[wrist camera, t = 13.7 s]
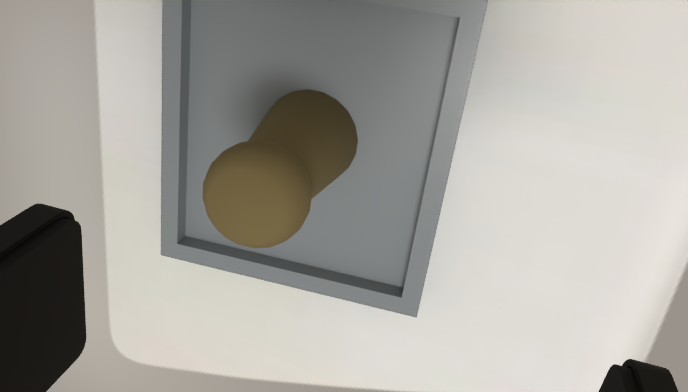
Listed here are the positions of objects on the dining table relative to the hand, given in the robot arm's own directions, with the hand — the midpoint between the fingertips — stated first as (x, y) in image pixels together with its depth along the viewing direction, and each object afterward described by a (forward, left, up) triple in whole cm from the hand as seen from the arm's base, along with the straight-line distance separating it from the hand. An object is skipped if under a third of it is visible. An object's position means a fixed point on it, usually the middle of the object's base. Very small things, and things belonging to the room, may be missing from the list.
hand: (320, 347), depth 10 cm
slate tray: (+6, -7, -27) cm, 28 cm away
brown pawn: (+6, -7, -26) cm, 27 cm away
